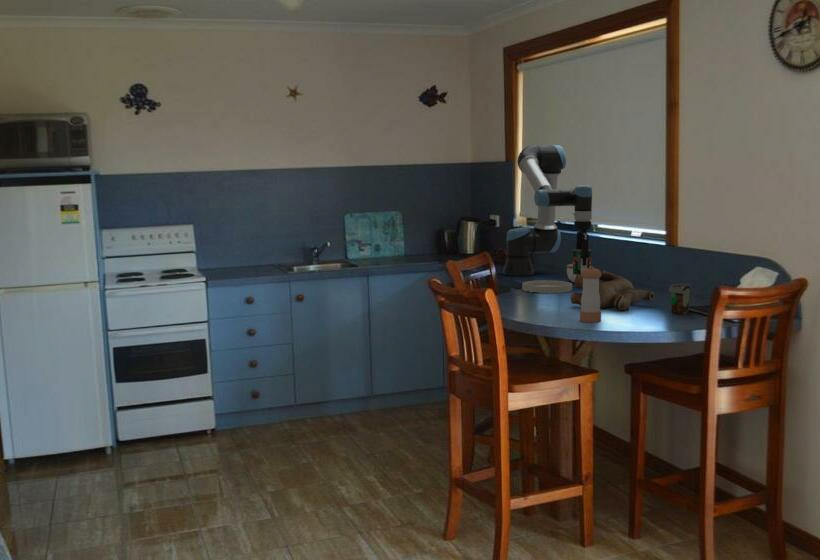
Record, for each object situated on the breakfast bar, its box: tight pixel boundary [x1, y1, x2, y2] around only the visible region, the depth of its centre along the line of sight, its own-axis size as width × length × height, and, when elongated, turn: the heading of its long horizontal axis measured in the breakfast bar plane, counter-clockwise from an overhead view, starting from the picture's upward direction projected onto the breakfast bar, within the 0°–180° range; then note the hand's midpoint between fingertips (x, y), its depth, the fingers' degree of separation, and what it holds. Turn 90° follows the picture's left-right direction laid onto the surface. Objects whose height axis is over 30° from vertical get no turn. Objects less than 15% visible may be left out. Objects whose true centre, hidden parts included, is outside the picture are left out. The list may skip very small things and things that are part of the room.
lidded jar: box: [566, 263, 577, 283], centre depth 399 cm, size 11×11×9 cm
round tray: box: [521, 279, 573, 294], centre depth 374 cm, size 21×21×3 cm
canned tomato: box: [572, 248, 592, 275], centre depth 381 cm, size 8×8×11 cm
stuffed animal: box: [570, 270, 655, 311], centre depth 329 cm, size 13×31×25 cm
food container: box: [668, 283, 691, 316], centre depth 312 cm, size 12×6×10 cm, turn 150°
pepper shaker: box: [579, 265, 602, 323], centre depth 296 cm, size 7×7×19 cm
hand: (581, 271), depth 382 cm, fingers closed on canned tomato, 8 cm apart
